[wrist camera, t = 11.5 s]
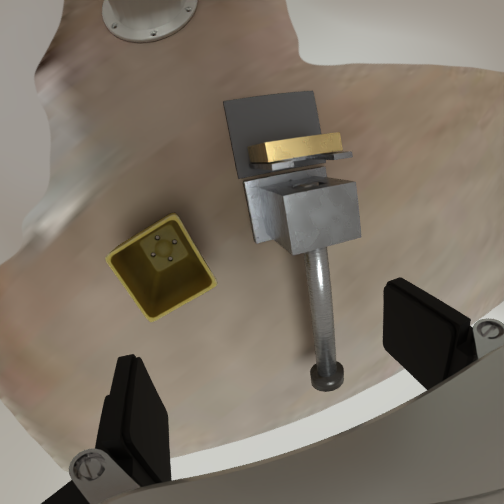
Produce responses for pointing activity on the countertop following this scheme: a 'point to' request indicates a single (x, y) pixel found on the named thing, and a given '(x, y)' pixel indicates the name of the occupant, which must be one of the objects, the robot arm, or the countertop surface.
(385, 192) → the countertop surface
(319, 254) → the shaft
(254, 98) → the mat
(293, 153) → the gold bearing plate
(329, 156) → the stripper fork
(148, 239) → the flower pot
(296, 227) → the block
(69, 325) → the countertop surface
